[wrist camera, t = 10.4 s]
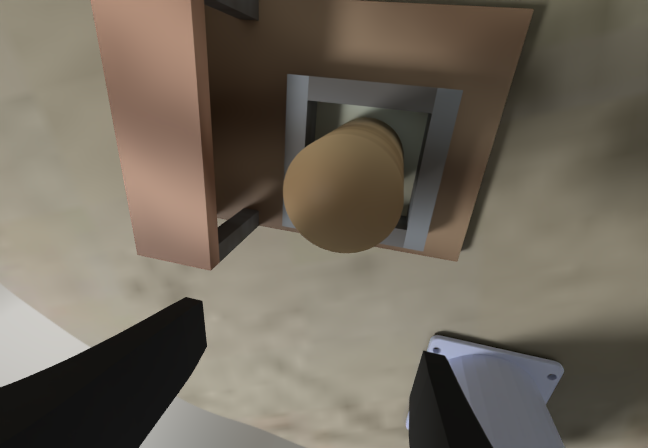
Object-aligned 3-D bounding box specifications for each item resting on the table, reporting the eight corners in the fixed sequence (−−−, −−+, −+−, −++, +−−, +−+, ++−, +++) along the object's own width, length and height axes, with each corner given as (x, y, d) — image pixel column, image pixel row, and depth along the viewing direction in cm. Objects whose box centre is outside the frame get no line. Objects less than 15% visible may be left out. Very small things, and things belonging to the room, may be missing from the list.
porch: (454, 253, 19) (478, 328, 13) (209, 209, 21) (137, 254, 16) (525, 14, 14) (616, -42, 8) (195, -3, 16) (80, -54, 11)
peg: (395, 199, 17) (390, 263, 11) (324, 187, 18) (280, 240, 11) (411, 123, 15) (416, 146, 9) (331, 112, 16) (285, 127, 10)
